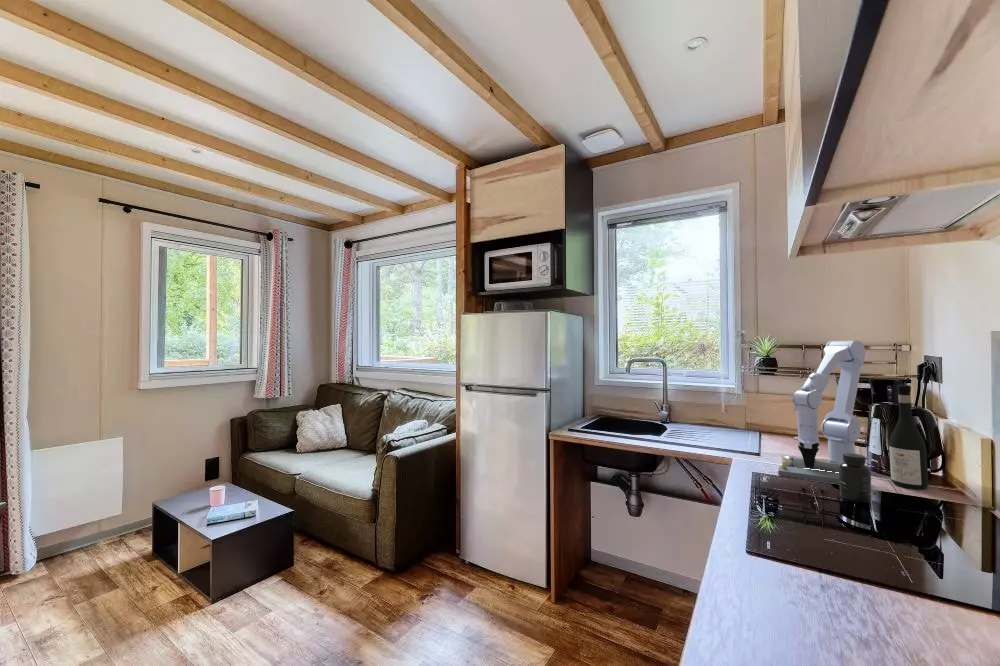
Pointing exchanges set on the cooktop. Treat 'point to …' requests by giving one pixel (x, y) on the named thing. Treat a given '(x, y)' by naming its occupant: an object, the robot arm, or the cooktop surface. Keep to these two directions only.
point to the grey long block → (818, 464)
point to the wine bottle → (907, 447)
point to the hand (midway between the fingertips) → (809, 465)
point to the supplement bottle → (855, 478)
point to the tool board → (808, 474)
